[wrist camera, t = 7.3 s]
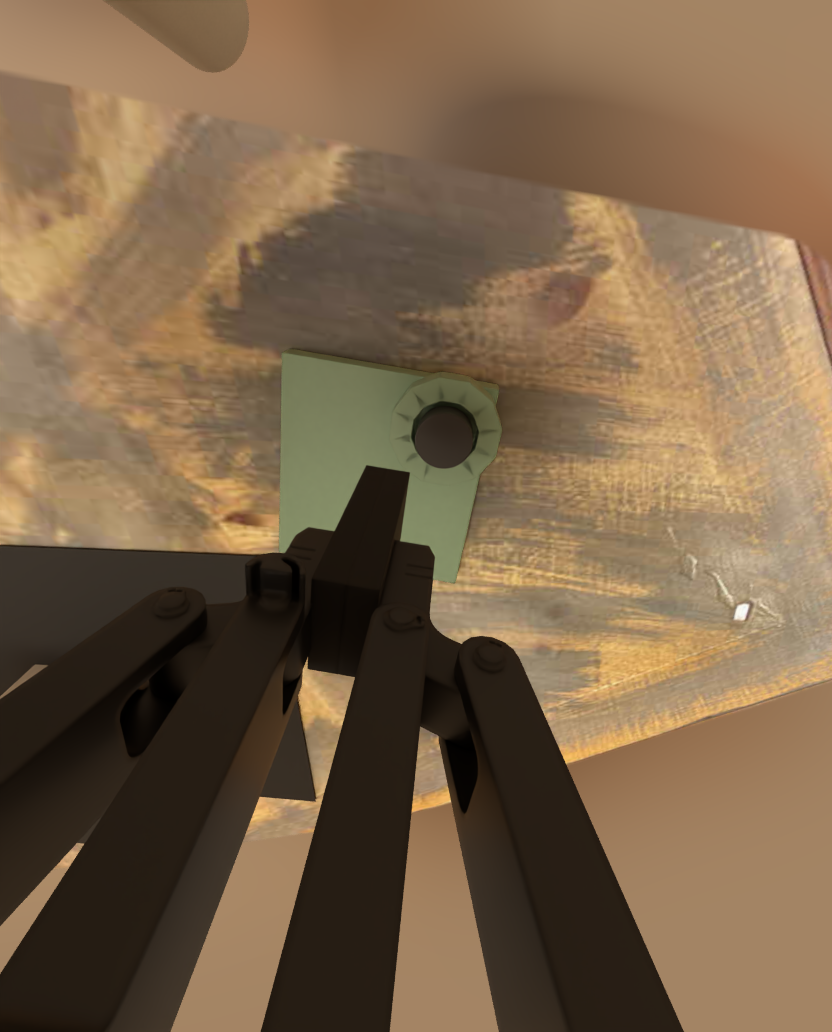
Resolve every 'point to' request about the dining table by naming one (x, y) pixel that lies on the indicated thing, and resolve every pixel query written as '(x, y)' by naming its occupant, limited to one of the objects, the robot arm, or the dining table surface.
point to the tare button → (444, 437)
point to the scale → (378, 446)
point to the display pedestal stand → (100, 599)
